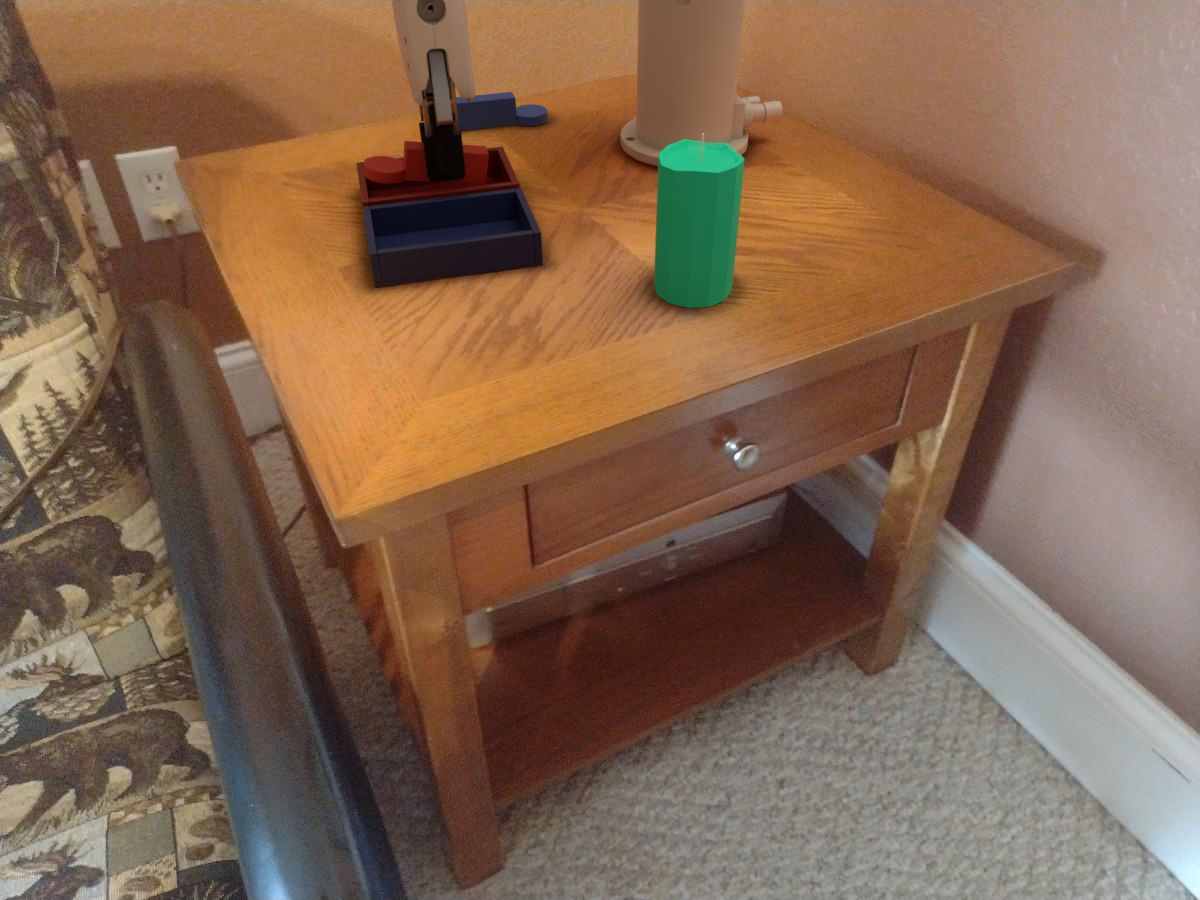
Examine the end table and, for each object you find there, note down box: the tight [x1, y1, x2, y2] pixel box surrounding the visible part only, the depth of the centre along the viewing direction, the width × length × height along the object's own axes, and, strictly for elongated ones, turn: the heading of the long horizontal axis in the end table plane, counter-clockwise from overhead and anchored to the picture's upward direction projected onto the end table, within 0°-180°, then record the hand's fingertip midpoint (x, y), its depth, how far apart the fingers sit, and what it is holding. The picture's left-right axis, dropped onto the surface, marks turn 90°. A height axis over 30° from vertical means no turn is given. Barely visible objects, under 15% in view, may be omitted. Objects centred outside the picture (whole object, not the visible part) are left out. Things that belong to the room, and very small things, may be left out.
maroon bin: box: [355, 146, 521, 208], centre depth 80 cm, size 13×8×3 cm, turn 105°
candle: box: [653, 133, 746, 309], centre depth 66 cm, size 6×6×12 cm
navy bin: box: [362, 187, 544, 289], centre depth 74 cm, size 13×8×3 cm, turn 105°
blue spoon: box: [456, 91, 549, 132], centre depth 94 cm, size 10×4×3 cm, turn 105°
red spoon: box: [363, 140, 489, 185], centre depth 78 cm, size 10×4×3 cm, turn 104°
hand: (444, 171), depth 79 cm, fingers closed on red spoon
